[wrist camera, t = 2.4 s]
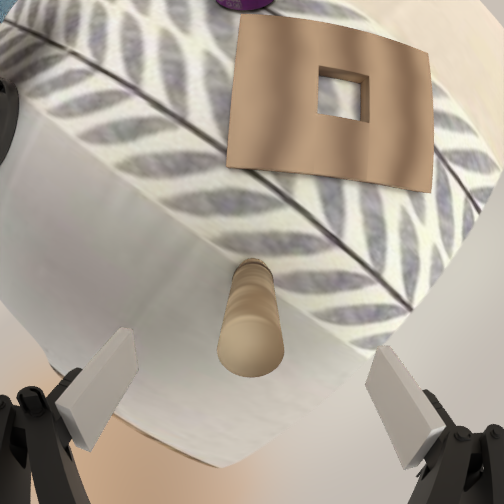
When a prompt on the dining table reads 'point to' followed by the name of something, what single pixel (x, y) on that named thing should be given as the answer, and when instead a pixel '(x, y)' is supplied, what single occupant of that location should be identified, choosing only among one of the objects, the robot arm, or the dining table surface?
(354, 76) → the board
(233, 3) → the beverage can
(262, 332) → the peg
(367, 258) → the dining table surface
